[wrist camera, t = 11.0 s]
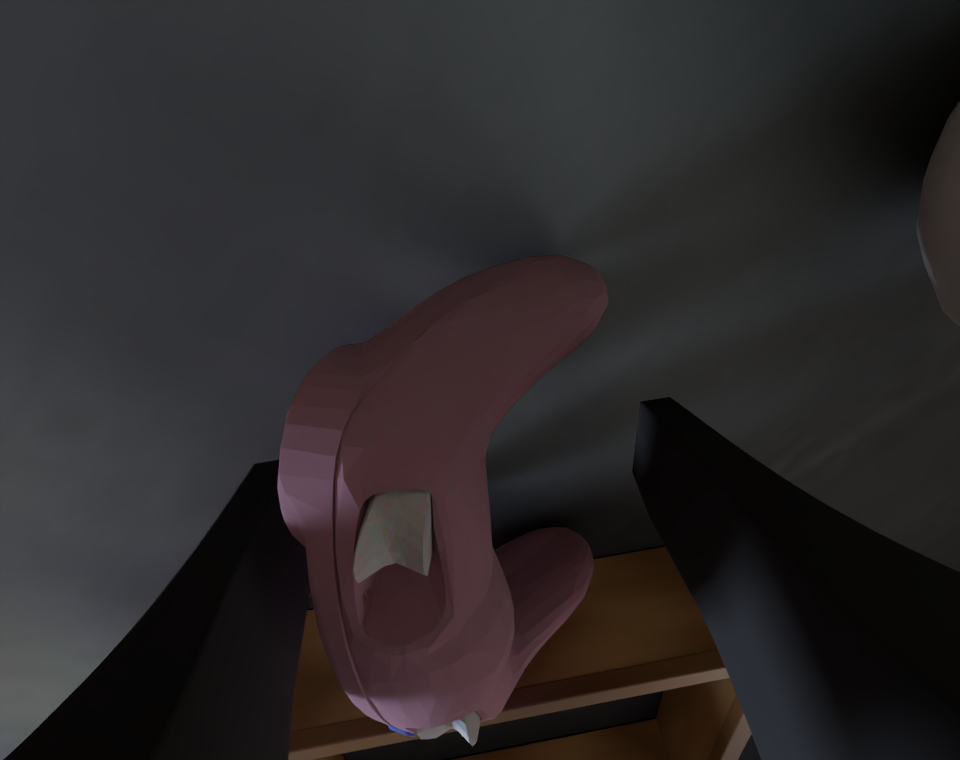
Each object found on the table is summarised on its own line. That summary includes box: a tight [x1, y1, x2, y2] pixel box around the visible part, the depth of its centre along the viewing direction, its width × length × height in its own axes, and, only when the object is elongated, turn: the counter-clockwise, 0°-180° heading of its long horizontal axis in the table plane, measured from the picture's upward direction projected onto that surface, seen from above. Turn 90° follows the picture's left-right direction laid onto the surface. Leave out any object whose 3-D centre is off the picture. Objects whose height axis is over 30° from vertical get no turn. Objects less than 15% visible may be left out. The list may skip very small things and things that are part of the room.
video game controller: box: [277, 255, 608, 746], centre depth 11 cm, size 10×5×7 cm, turn 5°
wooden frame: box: [288, 547, 751, 760], centre depth 19 cm, size 15×14×4 cm
